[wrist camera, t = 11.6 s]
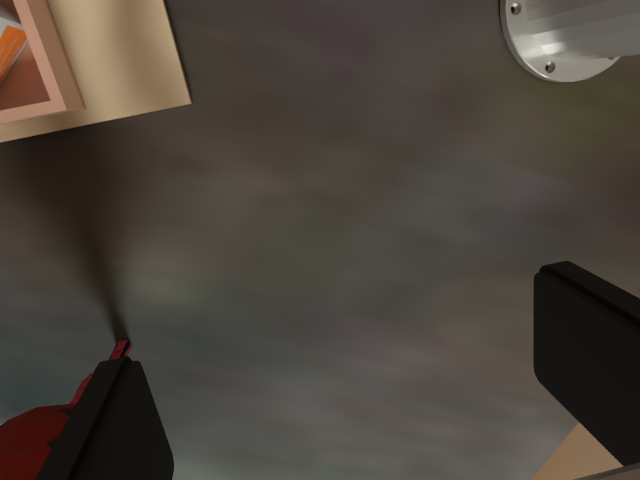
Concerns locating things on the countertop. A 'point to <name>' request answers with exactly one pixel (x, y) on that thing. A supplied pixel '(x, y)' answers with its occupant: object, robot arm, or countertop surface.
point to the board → (114, 63)
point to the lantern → (38, 432)
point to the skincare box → (10, 40)
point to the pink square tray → (38, 69)
